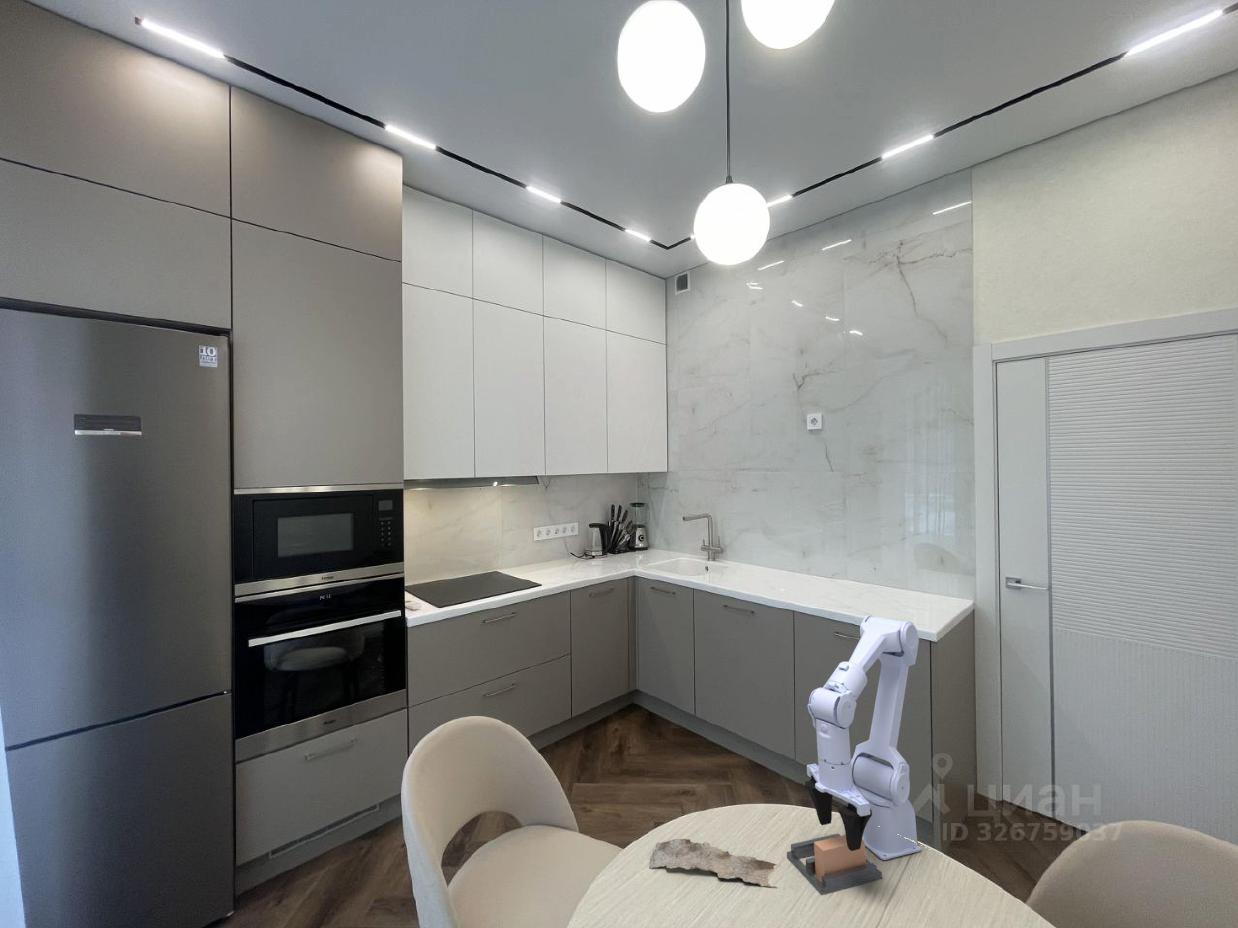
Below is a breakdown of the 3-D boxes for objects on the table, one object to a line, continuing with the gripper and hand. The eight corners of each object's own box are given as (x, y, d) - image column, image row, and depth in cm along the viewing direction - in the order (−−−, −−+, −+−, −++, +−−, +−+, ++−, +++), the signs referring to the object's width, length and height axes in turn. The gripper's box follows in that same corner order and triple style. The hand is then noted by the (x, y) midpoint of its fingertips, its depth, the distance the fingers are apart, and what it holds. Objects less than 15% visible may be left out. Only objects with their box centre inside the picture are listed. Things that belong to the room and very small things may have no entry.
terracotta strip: (856, 866, 93) (854, 832, 93) (866, 876, 90) (864, 840, 91) (815, 877, 90) (813, 841, 91) (825, 887, 88) (823, 850, 88)
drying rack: (843, 844, 99) (842, 832, 99) (882, 878, 89) (881, 865, 90) (787, 857, 95) (786, 845, 96) (821, 894, 86) (820, 880, 86)
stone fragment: (649, 851, 100) (647, 887, 90) (649, 835, 100) (647, 869, 90) (778, 854, 97) (790, 892, 87) (777, 839, 98) (789, 874, 88)
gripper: (792, 743, 98) (796, 816, 97) (843, 780, 84) (849, 866, 83) (822, 738, 100) (826, 810, 99) (877, 773, 86) (883, 857, 85)
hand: (839, 835), depth 91 cm, fingers open, 7 cm apart
